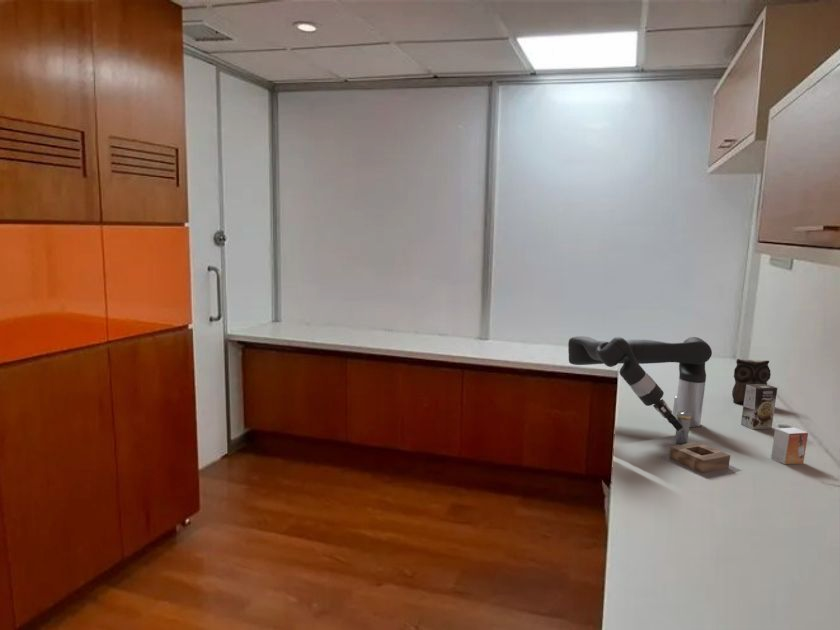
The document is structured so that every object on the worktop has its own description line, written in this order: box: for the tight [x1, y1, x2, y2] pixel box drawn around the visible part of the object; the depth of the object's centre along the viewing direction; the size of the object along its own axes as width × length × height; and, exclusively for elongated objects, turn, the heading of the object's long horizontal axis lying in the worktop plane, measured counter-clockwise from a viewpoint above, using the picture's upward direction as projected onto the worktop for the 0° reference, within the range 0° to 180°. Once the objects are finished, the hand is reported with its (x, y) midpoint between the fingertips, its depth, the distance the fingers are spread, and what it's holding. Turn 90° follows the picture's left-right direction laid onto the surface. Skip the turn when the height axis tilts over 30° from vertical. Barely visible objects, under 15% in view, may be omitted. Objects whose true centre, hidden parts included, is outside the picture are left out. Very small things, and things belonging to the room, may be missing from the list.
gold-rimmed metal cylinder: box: [674, 411, 691, 445], centre depth 205 cm, size 4×4×12 cm
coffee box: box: [740, 384, 778, 430], centre depth 231 cm, size 9×6×16 cm
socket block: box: [669, 441, 731, 473], centre depth 188 cm, size 12×12×4 cm
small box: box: [770, 427, 809, 465], centre depth 197 cm, size 8×6×10 cm
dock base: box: [657, 453, 742, 479], centre depth 188 cm, size 18×16×2 cm
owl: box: [731, 358, 771, 406], centre depth 262 cm, size 13×13×20 cm
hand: (676, 424), depth 205 cm, fingers open, 8 cm apart
